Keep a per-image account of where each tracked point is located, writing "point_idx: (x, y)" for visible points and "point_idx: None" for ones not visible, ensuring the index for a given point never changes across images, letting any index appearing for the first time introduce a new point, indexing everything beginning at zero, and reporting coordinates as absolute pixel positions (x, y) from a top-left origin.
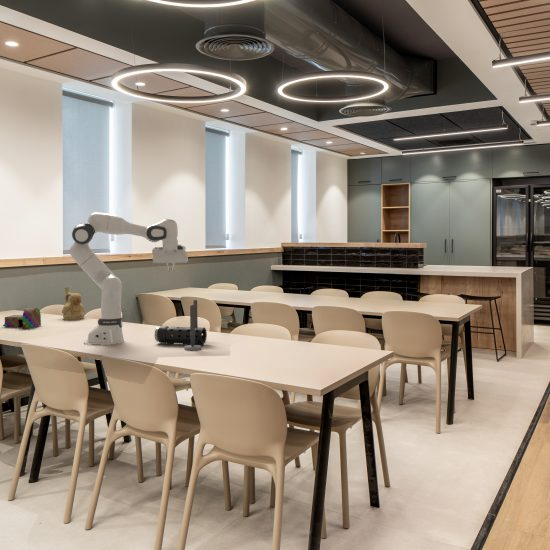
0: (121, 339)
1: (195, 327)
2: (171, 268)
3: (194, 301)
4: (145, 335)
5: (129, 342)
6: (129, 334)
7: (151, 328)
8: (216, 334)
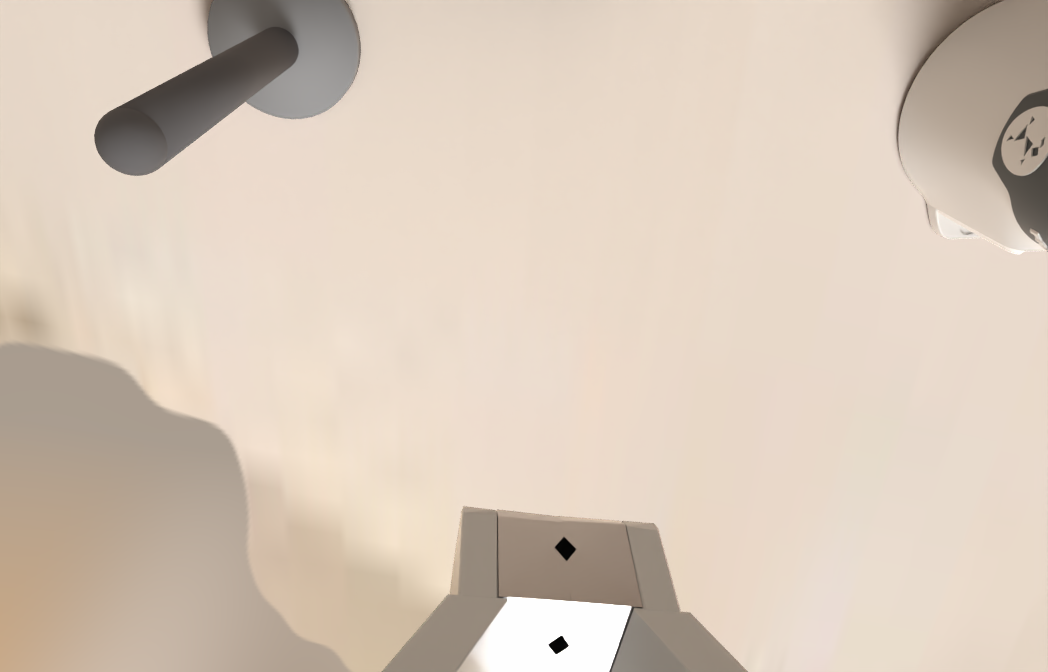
0: (957, 56)
1: (252, 41)
2: (523, 574)
3: (136, 116)
4: (685, 371)
5: (869, 68)
6: (784, 434)
7: None
8: (131, 293)
